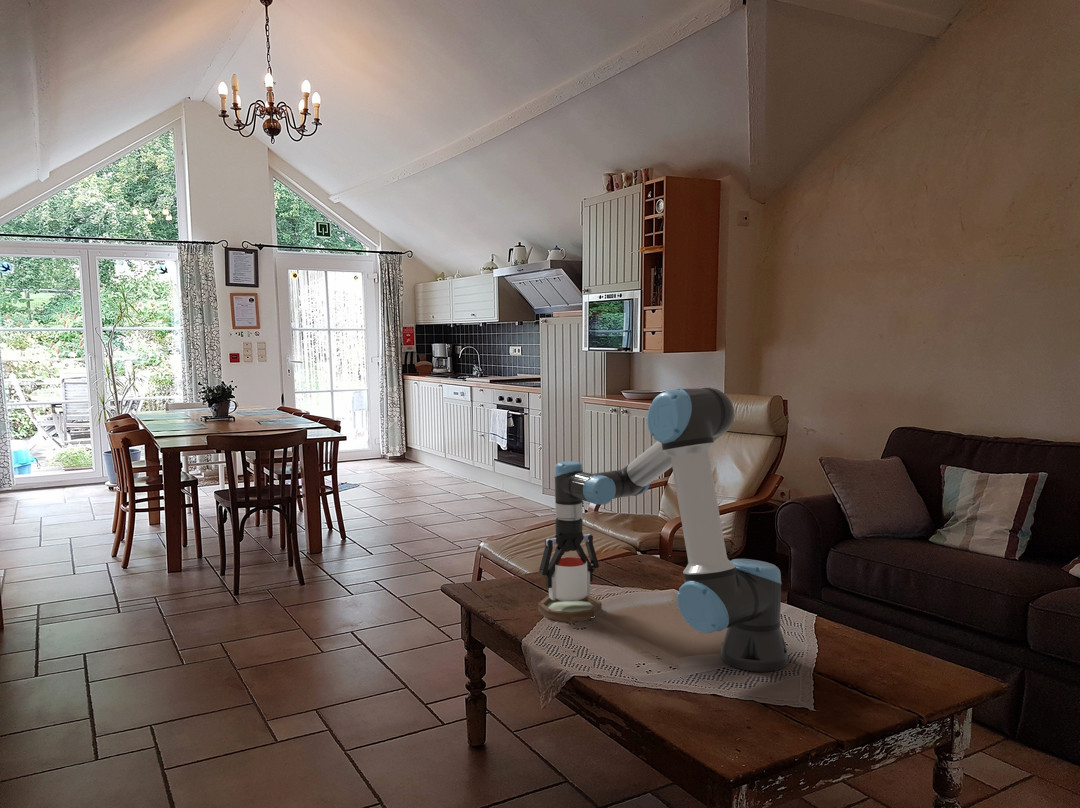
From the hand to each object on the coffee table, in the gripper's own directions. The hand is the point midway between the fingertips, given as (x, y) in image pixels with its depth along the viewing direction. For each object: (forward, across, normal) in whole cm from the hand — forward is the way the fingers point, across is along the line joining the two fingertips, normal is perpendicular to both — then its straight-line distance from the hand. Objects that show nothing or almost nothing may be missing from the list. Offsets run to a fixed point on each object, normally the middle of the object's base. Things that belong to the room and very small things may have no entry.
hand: (569, 596), depth 213 cm
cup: (0, 0, 0) cm, 0 cm away
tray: (+4, 0, 0) cm, 4 cm away
